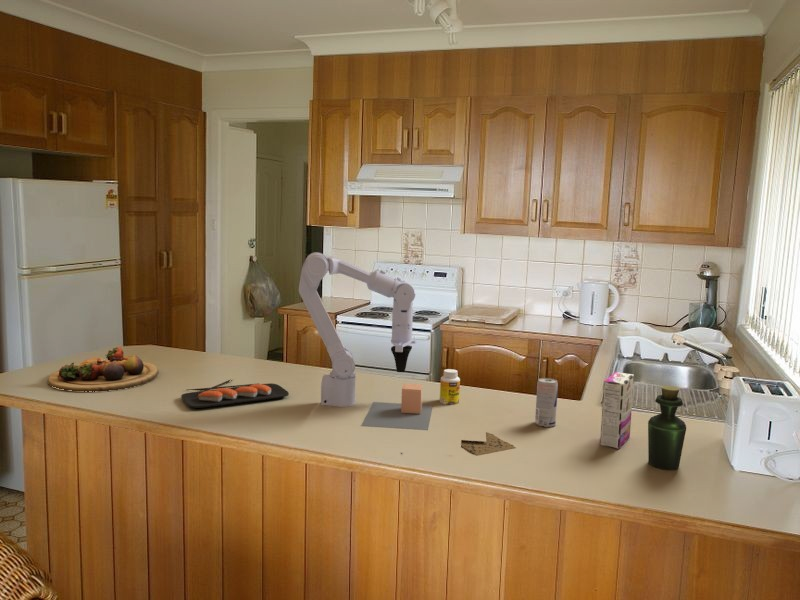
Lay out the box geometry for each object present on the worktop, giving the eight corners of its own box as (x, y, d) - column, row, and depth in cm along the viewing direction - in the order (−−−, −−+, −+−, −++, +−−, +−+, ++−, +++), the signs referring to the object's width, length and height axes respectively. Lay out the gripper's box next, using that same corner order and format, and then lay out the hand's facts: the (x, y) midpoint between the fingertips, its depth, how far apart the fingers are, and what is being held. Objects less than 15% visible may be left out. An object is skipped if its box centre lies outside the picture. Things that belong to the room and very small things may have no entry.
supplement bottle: (447, 409, 188) (448, 374, 187) (435, 404, 193) (437, 369, 191) (462, 406, 191) (464, 371, 190) (451, 401, 196) (452, 367, 194)
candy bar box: (610, 432, 172) (615, 371, 169) (630, 436, 169) (635, 374, 167) (598, 445, 162) (603, 380, 160) (619, 449, 160) (624, 383, 157)
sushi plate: (190, 414, 179) (190, 400, 178) (167, 386, 205) (167, 374, 204) (292, 400, 194) (292, 388, 193) (259, 376, 219) (258, 365, 219)
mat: (360, 429, 169) (361, 425, 169) (373, 405, 190) (373, 401, 190) (427, 433, 167) (427, 430, 167) (432, 408, 188) (432, 405, 188)
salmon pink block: (401, 412, 180) (401, 388, 179) (403, 406, 185) (403, 383, 184) (420, 413, 179) (421, 389, 178) (421, 407, 184) (422, 384, 183)
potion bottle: (649, 455, 157) (656, 381, 154) (686, 463, 152) (693, 387, 150) (640, 465, 150) (646, 388, 148) (678, 474, 146) (685, 395, 143)
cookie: (476, 457, 153) (476, 453, 153) (447, 440, 164) (447, 437, 164) (517, 449, 159) (517, 446, 159) (486, 434, 170) (487, 430, 169)
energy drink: (556, 422, 179) (559, 379, 177) (554, 428, 174) (557, 384, 172) (536, 419, 181) (538, 376, 179) (533, 425, 176) (536, 381, 174)
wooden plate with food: (88, 364, 228) (87, 340, 227) (176, 368, 224) (175, 345, 222) (24, 391, 197) (21, 364, 196) (124, 397, 192) (122, 370, 191)
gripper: (414, 329, 179) (412, 378, 181) (418, 320, 194) (417, 366, 196) (388, 328, 180) (387, 377, 182) (394, 319, 194) (393, 365, 196)
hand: (400, 371), depth 189 cm, fingers closed
